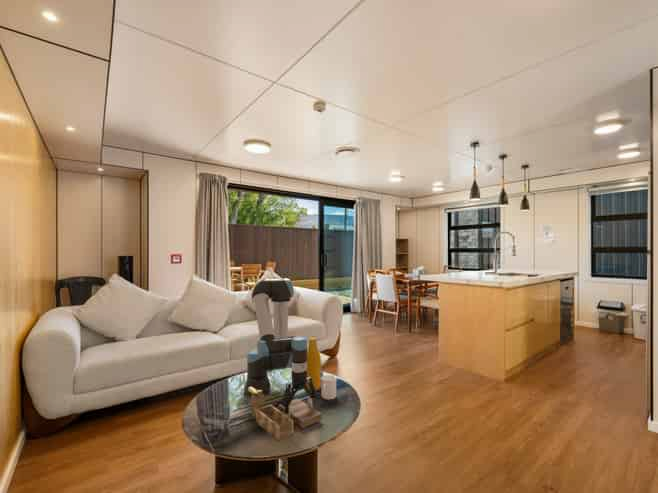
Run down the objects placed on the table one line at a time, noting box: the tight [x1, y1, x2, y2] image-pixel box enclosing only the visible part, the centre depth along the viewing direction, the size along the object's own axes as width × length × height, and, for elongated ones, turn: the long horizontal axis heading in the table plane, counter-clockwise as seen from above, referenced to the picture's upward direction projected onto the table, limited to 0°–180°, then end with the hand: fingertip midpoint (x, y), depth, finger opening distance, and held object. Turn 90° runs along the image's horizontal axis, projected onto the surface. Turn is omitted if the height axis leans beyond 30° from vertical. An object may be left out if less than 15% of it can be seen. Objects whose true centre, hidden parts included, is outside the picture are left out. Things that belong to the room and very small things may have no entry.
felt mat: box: [293, 420, 325, 434], centre depth 154 cm, size 24×12×1 cm, turn 39°
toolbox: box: [251, 390, 294, 442], centre depth 148 cm, size 28×8×11 cm, turn 39°
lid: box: [278, 398, 323, 428], centre depth 154 cm, size 21×11×4 cm, turn 39°
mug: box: [320, 374, 337, 401], centre depth 176 cm, size 12×8×10 cm
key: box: [248, 386, 262, 398], centre depth 160 cm, size 11×2×3 cm, turn 39°
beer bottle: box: [306, 337, 322, 391], centre depth 189 cm, size 9×9×29 cm
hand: (299, 415), depth 154 cm, fingers open, 12 cm apart
